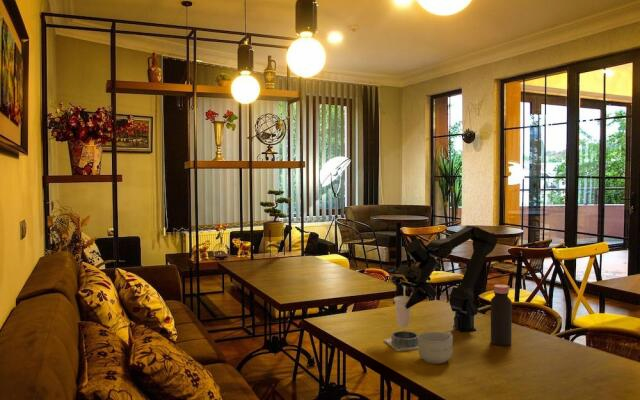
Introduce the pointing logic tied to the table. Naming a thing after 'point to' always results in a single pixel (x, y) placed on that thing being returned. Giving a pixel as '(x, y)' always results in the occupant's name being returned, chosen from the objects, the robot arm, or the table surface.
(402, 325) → the smoothie
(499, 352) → the table surface
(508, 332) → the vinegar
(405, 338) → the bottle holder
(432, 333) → the teacup
